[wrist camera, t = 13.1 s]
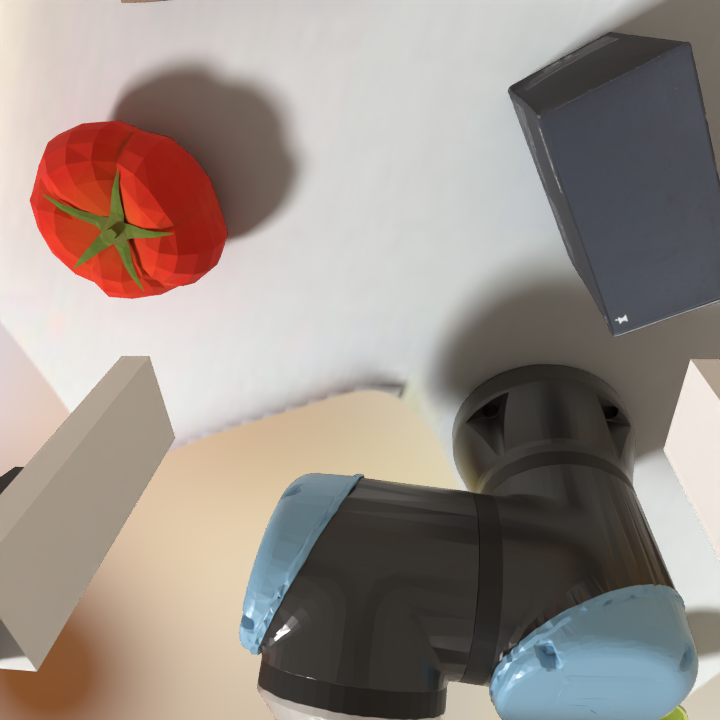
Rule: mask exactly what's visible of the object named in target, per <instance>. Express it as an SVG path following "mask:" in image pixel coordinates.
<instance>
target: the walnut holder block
mask: <svg viewBox="0 0 720 720" xmlns="http://www.w3.org/2000/svg"><path fill="white" fill-rule="evenodd" d="M154 1H166V0H121V2H122V3H135V2H154Z"/></svg>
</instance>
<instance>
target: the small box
mask: <svg viewBox="0 0 720 720" xmlns="http://www.w3.org/2000/svg"><path fill="white" fill-rule="evenodd" d="M508 93H509V95H510V98H511V100H512V102H513V105H514V108H515V111H516V114H517V116H518V119H519V122H520V125H521V128H522V130H523V133H524V136H525V139H526V141H527V144H528V147H529V149H530V152H531V155H532V157H533V160H534V163H535V165H536V168H537V171H538V174H539V176H540V179H541V182H542V184H543V187H544V190H545V193H546V195H547V198H548V201H549V203H550V206H551V209H552V211H553V214H554V217H555V220H556V222H557V225H558V228H559V231H560V234H561V236H562V239H563V242H564V244H565V247H566V250H567V253H568V255H569V257H570V260H571V262H572V264H573V266H574V267H575V269H576V271H577V272H578V274H579V276H580V277H581V278H582V280H583V282H584V284H585V285H586V287H587V288H588V290H589V292H590V294H591V295H592V297H593V299H594V301H595V302H596V304H597V306H598V308H599V310H600V312H601V314H602V315H603V317H604V319H605V321H606V323H607V325H608V327H609V330H610V331H611V333H612V335H613V336H614V337H617V336H621V335H623V334H626V333H629V332H632V331H635V330H638V329H641V328H644V327H646V326H649V325H652V324H655V323H657V322H660V321H664V320H666V319H669V318H672V317H675V316H678V315H681V314H684V313H687V312H690V311H693V310H696V309H699V308H702V307H705V306H708V305H711V304H714V303H716V302H719V301H720V181H719V177H718V173H717V167H716V162H715V158H714V152H713V148H712V143H711V138H710V134H709V128H708V123H707V120H706V113H705V108H704V104H703V98H702V94H701V89H700V85H699V80H698V76H697V71H696V66H695V61H694V57H693V53H692V48H691V44H690V43H689V42H681V41H672V40H665V39H657V38H649V37H640V36H634V35H626V34H619V33H613V32H610V33H608V34H606V35H605V36H602V37H600V38H599V39H597V40H596V41H593V42H591V43H589V44H587V45H585V46H584V47H582V48H580V49H579V50H577V51H575V52H573V53H571V54H569V55H567V56H566V57H564V58H562V59H560V60H558V61H556V62H554V63H552V64H551V65H549V66H547V67H545V68H543V69H542V70H540V71H538V72H536V73H534V74H532V75H530V76H529V77H527V78H525V79H523V80H522V81H520V82H518V83H516V84H514V85H512V86H511V87H509V89H508Z"/></svg>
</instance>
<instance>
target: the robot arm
mask: <svg viewBox="0 0 720 720" xmlns="http://www.w3.org/2000/svg"><path fill="white" fill-rule="evenodd" d="M452 438H453V455H454V460H455V464H456V467H457V470H458V472H459V474H460V476H461V478H462V480H463V482H464V483H465V485H466V487H467V489H468V491H469V492H468V491H460V490H453V489H452V490H451V489H444V488H437V487H428V486H420V485H413V484H405V483H397V482H388V481H381V480H374V479H366V478H364V475H363V474H356V475H354V476H345V475H333V474H321V473H311V474H306V475H303V476H301V477H299V478H298V479H296V480H295V481H294V482H293V483H292V484H291V485H290V486H289V487H288V488H287V489H286V491H285V492H284V493H283V495H282V497H281V498H280V500H279V502H278V504H277V506H276V508H275V510H274V512H273V514H272V516H271V519H270V521H269V523H268V526H267V528H266V531H265V533H264V536H263V538H262V541H261V544H260V547H259V550H258V553H257V556H256V559H255V562H254V565H253V568H252V572H251V575H250V579H249V582H248V586H247V590H246V594H245V599H244V603H243V616H242V621H241V624H240V631H239V636H240V641H241V644H242V646H243V647H244V648H246V649H248V650H250V652H251V653H252V654H255V655H259V654H260V653H262V661H261V667H260V672H259V679H258V684H257V689H258V692H259V694H260V695H261V697H262V698H263V700H264V702H265V703H266V705H267V706H268V707H269V709H270V711H271V712H272V714H273V716H274V719H275V720H443V719H444V717H445V707H446V693H447V685H448V682H449V681H453V682H462V683H468V684H474V685H481V686H487V687H489V692H490V693H489V694H490V696H491V701H492V702H493V705H494V706H495V709H496V711H497V713H498V715H499V717H500V718H501V719H502V720H659V719H661V718H662V717H664V716H666V715H667V714H669V713H670V712H671V711H673V710H674V709H675V708H676V707H677V706H678V705H679V704H680V703H681V702H682V701H683V700H684V699H685V698H686V697H687V696H688V694H689V693H690V691H691V689H692V688H693V686H694V683H695V681H696V677H697V673H698V654H697V650H696V647H695V644H694V640H693V637H692V634H691V630H690V627H689V624H688V621H687V617H686V614H685V605H684V601H683V599H682V597H681V596H680V595H679V594H678V592H677V591H676V589H675V587H674V584H673V582H672V579H671V577H670V575H669V572H668V570H667V567H666V565H665V563H664V560H663V558H662V555H661V553H660V551H659V548H658V546H657V543H656V541H655V538H654V536H653V534H652V531H651V529H650V526H649V524H648V522H647V519H646V517H645V514H644V512H643V509H642V507H641V505H640V502H639V500H638V498H637V495H636V493H635V490H634V488H633V472H634V455H635V434H634V429H633V425H632V422H631V420H630V417H629V415H628V413H627V411H626V409H625V406H624V404H623V402H622V401H621V399H620V397H619V396H618V395H617V393H616V392H615V391H614V390H613V389H612V388H611V387H610V386H609V385H608V384H606V383H605V382H604V381H602V380H601V379H599V378H597V377H596V376H594V375H592V374H590V373H587V372H585V371H582V370H579V369H575V368H571V367H566V366H559V365H535V366H527V367H522V368H518V369H514V370H511V371H508V372H505V373H502V374H500V375H498V376H496V377H494V378H492V379H490V380H488V381H487V382H485V383H484V384H482V385H481V386H480V387H478V388H477V389H476V390H475V391H474V392H472V393H471V394H470V395H469V397H468V398H467V399H466V400H465V401H464V403H463V404H462V406H461V407H460V409H459V411H458V413H457V415H456V418H455V421H454V425H453V432H452ZM174 439H175V436H174V433H173V429H172V426H171V423H170V420H169V417H168V414H167V410H166V407H165V404H164V401H163V398H162V395H161V392H160V388H159V385H158V382H157V379H156V376H155V373H154V369H153V366H152V363H151V360H150V357H149V356H121V358H120V359H119V360H118V361H117V362H116V363H115V364H114V366H113V367H112V368H111V369H110V370H109V371H108V372H107V374H106V375H105V376H104V377H103V378H102V379H101V380H100V382H99V383H98V384H97V385H96V386H95V387H94V388H93V390H92V391H91V392H90V393H89V394H88V395H87V396H86V398H85V399H84V400H83V401H82V402H81V403H80V404H79V406H78V407H77V408H76V409H75V410H74V411H73V412H72V414H71V415H70V416H69V417H68V418H67V419H66V421H65V422H64V423H63V424H62V425H61V426H60V427H59V428H58V430H57V431H56V432H55V433H54V434H53V435H52V436H51V438H50V439H49V440H48V441H47V442H46V443H45V445H44V446H43V447H42V448H41V449H40V450H39V451H38V452H37V454H36V455H35V456H34V457H33V458H32V459H31V460H30V462H29V463H28V464H27V465H26V466H25V467H14V468H13V469H12V470H10V471H8V472H7V473H6V474H4V475H3V476H1V477H0V668H4V669H16V670H27V671H38V669H39V667H40V666H41V664H42V662H43V661H44V659H45V657H46V655H47V654H48V652H49V650H50V649H51V647H52V645H53V644H54V642H55V640H56V639H57V637H58V635H59V633H60V632H61V630H62V628H63V627H64V625H65V623H66V622H67V620H68V618H69V617H70V615H71V613H72V612H73V610H74V608H75V606H76V605H77V603H78V601H79V600H80V598H81V596H82V595H83V593H84V591H85V590H86V588H87V586H88V584H89V583H90V581H91V579H92V578H93V576H94V574H95V573H96V571H97V569H98V568H99V566H100V564H101V563H102V561H103V559H104V557H105V556H106V554H107V552H108V551H109V549H110V547H111V546H112V544H113V542H114V541H115V539H116V537H117V535H118V534H119V532H120V530H121V528H122V527H123V525H124V524H125V522H126V520H127V518H128V517H129V515H130V514H131V512H132V510H133V508H134V507H135V505H136V503H137V501H138V500H139V498H140V496H141V495H142V493H143V491H144V490H145V488H146V486H147V485H148V483H149V481H150V480H151V478H152V476H153V474H154V473H155V471H156V469H157V468H158V466H159V465H160V463H161V461H162V459H163V458H164V456H165V454H166V453H167V451H168V449H169V448H170V446H171V444H172V443H173V441H174ZM664 452H665V454H666V456H667V458H668V460H669V462H670V464H671V466H672V468H673V470H674V472H675V474H676V476H677V478H678V480H679V482H680V484H681V486H682V488H683V490H684V492H685V494H686V496H687V498H688V500H689V502H690V504H691V506H692V508H693V510H694V512H695V514H696V516H697V518H698V520H699V522H700V524H701V526H702V528H703V530H704V532H705V534H706V536H707V538H708V540H709V542H710V544H711V546H712V548H713V550H714V552H715V554H716V556H717V558H718V560H719V562H720V359H690V362H689V366H688V369H687V373H686V376H685V379H684V383H683V386H682V389H681V393H680V396H679V399H678V403H677V406H676V410H675V413H674V416H673V420H672V423H671V426H670V430H669V433H668V436H667V440H666V443H665V447H664Z"/></svg>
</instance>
